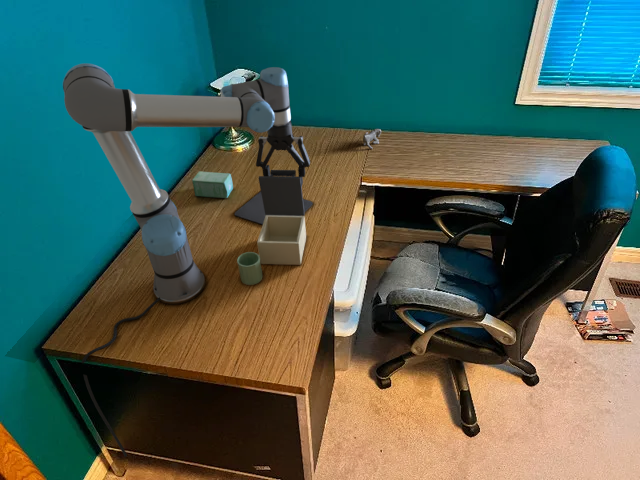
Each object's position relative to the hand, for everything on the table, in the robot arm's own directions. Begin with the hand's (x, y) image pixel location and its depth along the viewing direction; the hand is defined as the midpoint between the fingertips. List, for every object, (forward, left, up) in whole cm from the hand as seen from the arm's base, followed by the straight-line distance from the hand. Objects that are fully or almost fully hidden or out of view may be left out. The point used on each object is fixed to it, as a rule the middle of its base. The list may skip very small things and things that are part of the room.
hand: (285, 184), depth 160 cm
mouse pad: (+9, +9, -18) cm, 22 cm away
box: (+15, +36, -18) cm, 43 cm away
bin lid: (-7, -1, 0) cm, 7 cm away
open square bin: (-13, -2, -17) cm, 22 cm away
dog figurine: (+67, -17, -18) cm, 72 cm away
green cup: (-28, +3, -17) cm, 33 cm away
